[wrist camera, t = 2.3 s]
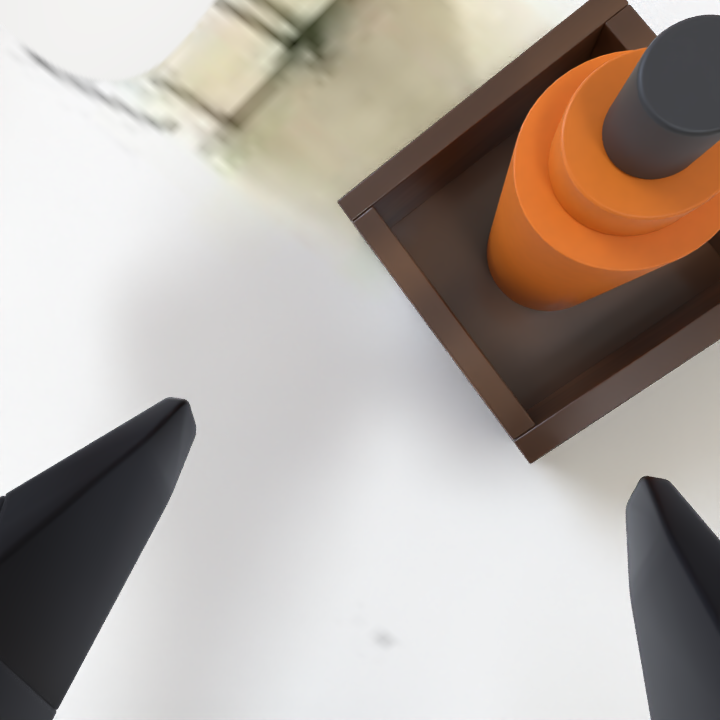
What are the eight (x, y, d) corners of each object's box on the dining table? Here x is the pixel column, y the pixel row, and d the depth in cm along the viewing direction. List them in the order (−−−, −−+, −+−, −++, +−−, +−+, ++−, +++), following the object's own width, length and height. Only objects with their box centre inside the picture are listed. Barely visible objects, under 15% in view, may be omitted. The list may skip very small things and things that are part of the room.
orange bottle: (641, 261, 21) (969, 88, 8) (535, 335, 22) (665, 296, 8) (563, 164, 22) (743, -155, 8) (462, 240, 23) (476, 60, 9)
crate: (759, 279, 21) (847, 255, 16) (514, 443, 23) (530, 464, 18) (578, 61, 22) (611, -19, 18) (359, 232, 24) (336, 201, 19)
